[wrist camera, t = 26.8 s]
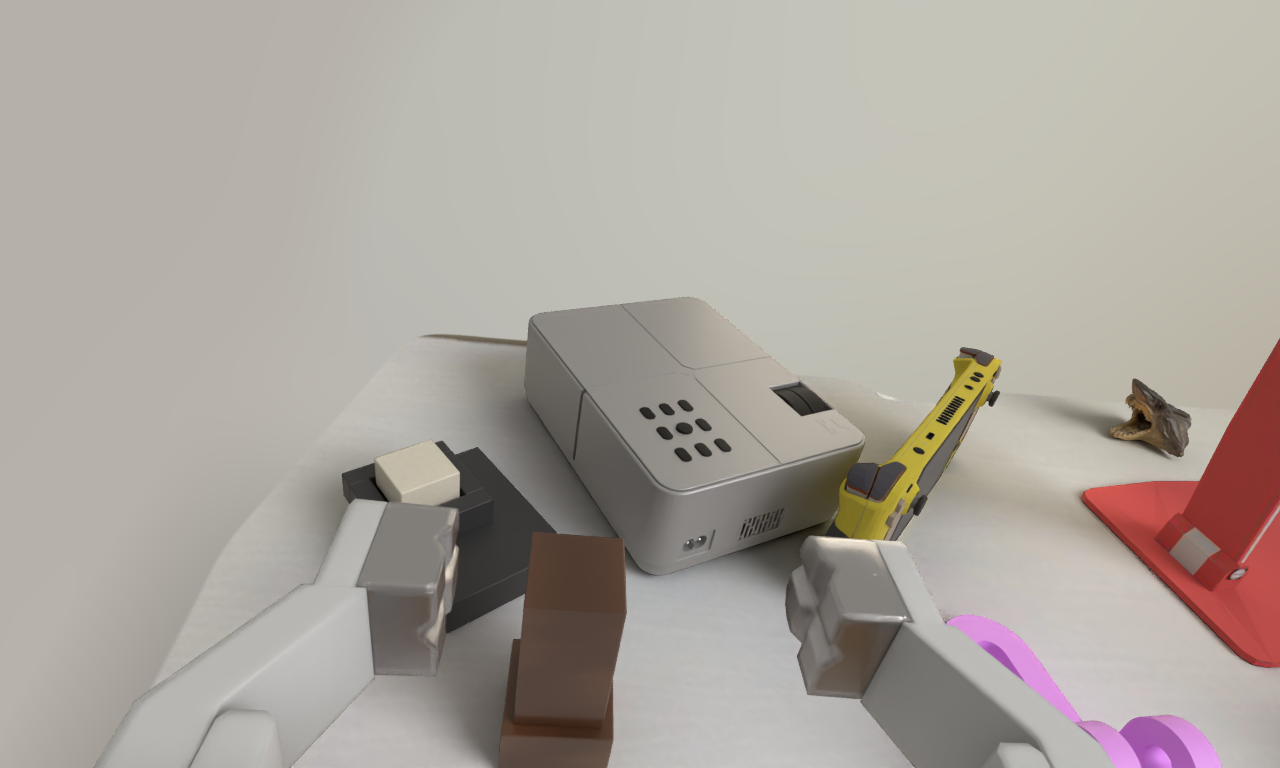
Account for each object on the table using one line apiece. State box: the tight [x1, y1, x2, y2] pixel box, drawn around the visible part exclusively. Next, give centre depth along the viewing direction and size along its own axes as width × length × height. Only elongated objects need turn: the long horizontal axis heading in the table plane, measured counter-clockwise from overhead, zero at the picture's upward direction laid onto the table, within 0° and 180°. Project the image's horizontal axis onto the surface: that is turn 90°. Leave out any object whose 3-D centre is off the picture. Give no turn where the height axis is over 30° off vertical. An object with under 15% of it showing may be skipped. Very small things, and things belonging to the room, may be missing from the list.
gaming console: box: [824, 347, 1002, 541], centre depth 49 cm, size 26×4×10 cm, turn 142°
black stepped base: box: [342, 441, 557, 633], centre depth 42 cm, size 9×11×4 cm
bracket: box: [946, 615, 1222, 768], centre depth 36 cm, size 13×6×7 cm, turn 9°
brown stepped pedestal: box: [498, 532, 627, 768], centre depth 31 cm, size 5×5×11 cm
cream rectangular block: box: [374, 440, 460, 506], centre depth 41 cm, size 4×4×2 cm
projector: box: [524, 297, 865, 575], centre depth 52 cm, size 17×22×8 cm
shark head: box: [1110, 379, 1191, 457], centre depth 65 cm, size 8×6×7 cm
